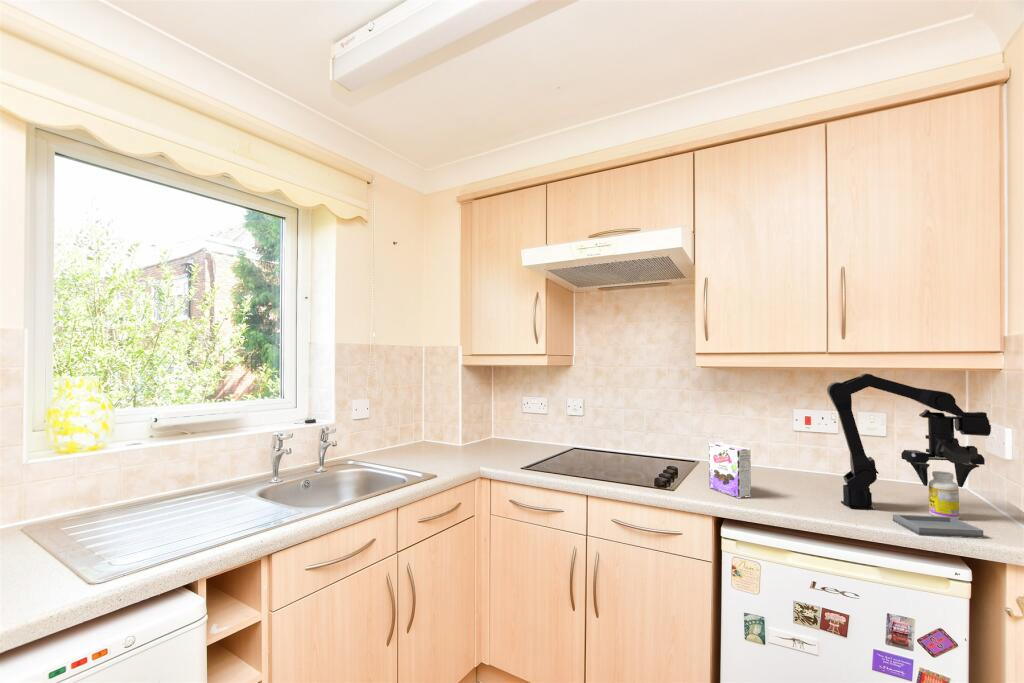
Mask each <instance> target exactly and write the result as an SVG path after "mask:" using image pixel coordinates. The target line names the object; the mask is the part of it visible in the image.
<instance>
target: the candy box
mask: <svg viewBox="0 0 1024 683" xmlns="http://www.w3.org/2000/svg"><path fill="white" fill-rule="evenodd" d="M751 465H752V464H751V448H747V447H743V446H738V445H733V444H729V443H724V442H721V441H719V442H710V443H708V466H709V467H708V468H709V470H708V472H709V473H708V474H709V477H708V478H709V480H708V481H709V488H710V487H711V488H714V489H717V490H720V491H723V492H725V493H728V494H731V495H734V496H736V497H745V496H751V497H752V492H751V491H752V484H751V483H752V482H751V481H752V480H751V479H752V476H751V474H752V473H751V472H752V471H751V470H752V469H751V468H752V467H751ZM711 488H710V489H711ZM725 493H724V494H725ZM728 494H727V495H728ZM731 495H730V496H731ZM736 497H735V498H736Z"/></svg>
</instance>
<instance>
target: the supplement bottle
mask: <svg viewBox="0 0 1024 683" xmlns="http://www.w3.org/2000/svg"><path fill="white" fill-rule="evenodd" d="M931 474H932V477H933V478H932V479H931V480H928V504H929V505H928V506H929V507H928V508H929V510H928V511H929V514H930V516H950V517H953V518H956V519H958V520H960V515H961V514H960V495H959V494H960V493H959V490H960V489H959V486H958V484H957V482H954V474H953V473H951V472H948V471H939V470H937V471H936V470H933V471H932V472H931Z"/></svg>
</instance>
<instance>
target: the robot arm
mask: <svg viewBox="0 0 1024 683" xmlns="http://www.w3.org/2000/svg"><path fill="white" fill-rule="evenodd" d="M869 387H870V388H873V389H876V390H881V391H883V392H887V393H890V394H893V395H894V394H895V395H897V396H901V397H904V398H908V399H911V400H912V401H915V402H916V403H919V404H921V405H923V406H925V407H928V408H930V409H933V410H936V412H934V411H931V410H929V409H928V408H927V409H924V410H923V412H921V413H919V414H918V415H919V416H918V417H921V418H922V419H927V428H928V430H927V431H928V434H925V439H926V440H928V448H925V452H923V451H921V450H916V449H904V450H903V451H902V452H901V453H900V454H901V459H902V460H905V461H906V463H909V464H910V465H911V467H912V468H913V470H915V472H916V474H917V476H918V478H919V480H920V482H921V483H922V485H923V486H925V487H927V486H929V478H928V475H929V474H928V468H929V467H930V464H929V463H928V462H929V461H948V462H949V463H952V464H953V465H954V470H955V478H956V484H957V485H958V488H963V487H964V485H965V483H966V480H967V479H968V477H969V475H970V473H971V471H972V470H974V469H976V468H980V466H981V465H984V466H985V462H986V460H985V457H984V456H983V454H980V453H979V451H978V447H976V446H974V445H966V446H964V445H963V446H962V445H960V442H959V440H958V439H959V438H957V437H956V438H955V430H956V432H959V433H960V434H961V435H962V436H979V437H982V436H983V437H989V436H990V435H991V432H992V424H990V420H989V418H988V414H987V412H984V411H974V412H973V411H963V410H962V408H960V406H959V405H957V402H956V398H955V397H954V396H953V394H951V393H949V392H945V391H941V390H934V389H928V388H919V387H914V386H911V385H908V384H904V383H900V382H896V381H892V380H889V379H886V378H882V377H879V376H875V375H873V374H871V373H862V374H860V375H859V376H856V377H853V378H850V379H848V380H844V381H842V382H839V381H834V382H832V383H829V385H828V386H827V388H826V393H827V395H828V397H829V399H830V401H831V403H832V405H833V406H834V408H835V410H836V412H837V414H838V417H839V421H840V424H841V428H842V431H843V434H844V437H845V438H844V439H845V440H846V441H845V442H846V444H847V447H848V451H849V462H850V463H849V465H850V471H849V472H847V473H846V474H844V475H843V476H842V477H843V480H844V483H846V484H842V493H843V494H842V497H843V500H841V501H840V503H841V504H843V505H844V506H846V507H848V508H850V509H853V510H855V509H857V510H874V507H873V499H872V498H873V497H872V496H873V494H872V492H871V488H870V486H871V485H872V484H875V482H876V481H877V480H878V476H877V474H880V473H879V471H878V470H877V468H876V460H875V459H874V458H873V457H872V456H868V457H867V455H866V453H865V449H864V446H863V442H862V438H861V436H860V433H859V430H858V427H857V423H856V419H855V417H854V414H853V413H854V412H853V409H852V404H853V403H852V395H853V394H855V393H858V392H860V391H863V390H864V389H867V388H869ZM937 411H939V412H937ZM944 412H945V413H947V414H950V415H953V416H950V415H949V416H948V415H945V413H944Z"/></svg>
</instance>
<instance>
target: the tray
mask: <svg viewBox="0 0 1024 683" xmlns="http://www.w3.org/2000/svg"><path fill="white" fill-rule="evenodd" d="M893 521H894V523H895V522H896V523H895V524H897V523H898V524H897V525H899V526H901V527H903V528H904V529H907V530H909V531H910V532H912V533H915V534H916V535H918V536H925V537H927V536H928V537H929V536H930V537H947V538H948V537H951V536H962V537H961V538H968V537H983V538H982V539H984V529H982V528H978V527H977V526H974V525H971V524H969V523H967V522H965V521H963V520H961V519H956V518H953V517H950V516H933V515H923V514H922V515H921V514H920V515H919V514H918V515H917V514H900V513H899V514H898V513H895V514H894V513H892V522H893ZM951 538H952V537H951Z"/></svg>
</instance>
